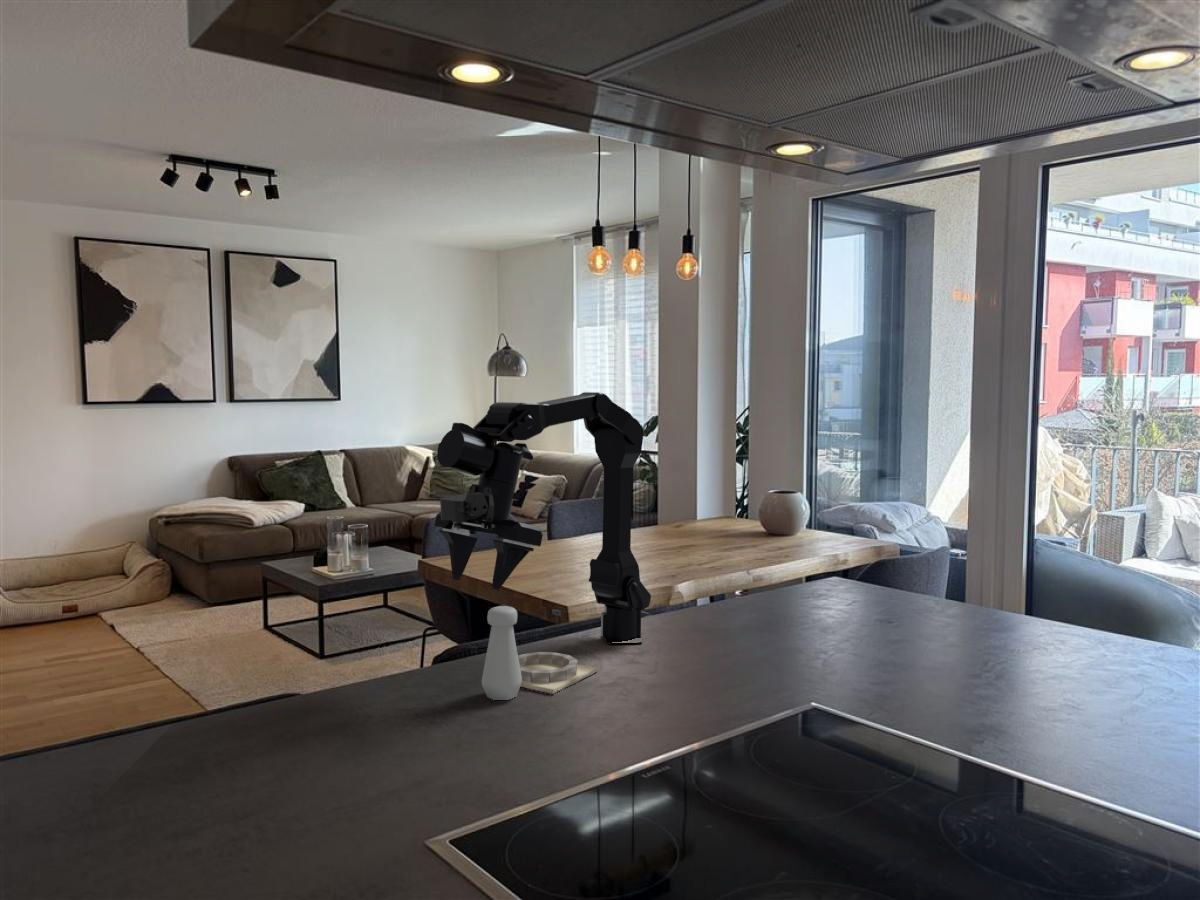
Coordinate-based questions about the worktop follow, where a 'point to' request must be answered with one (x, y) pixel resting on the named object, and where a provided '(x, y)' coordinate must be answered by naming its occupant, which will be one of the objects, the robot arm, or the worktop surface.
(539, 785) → the worktop surface
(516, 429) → the robot arm
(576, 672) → the ring stand
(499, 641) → the salt shaker
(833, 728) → the worktop surface
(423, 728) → the worktop surface
